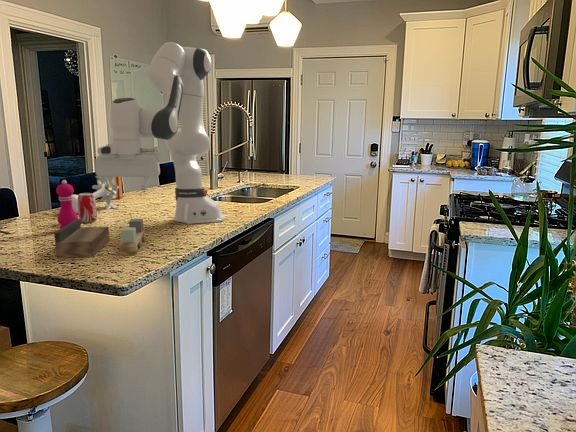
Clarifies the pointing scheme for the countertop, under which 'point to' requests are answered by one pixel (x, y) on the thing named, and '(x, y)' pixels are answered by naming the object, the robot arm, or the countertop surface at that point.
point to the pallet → (132, 244)
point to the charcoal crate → (136, 224)
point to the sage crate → (128, 234)
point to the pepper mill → (65, 204)
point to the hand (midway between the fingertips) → (129, 190)
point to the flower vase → (99, 193)
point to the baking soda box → (119, 192)
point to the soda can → (87, 207)
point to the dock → (80, 240)
